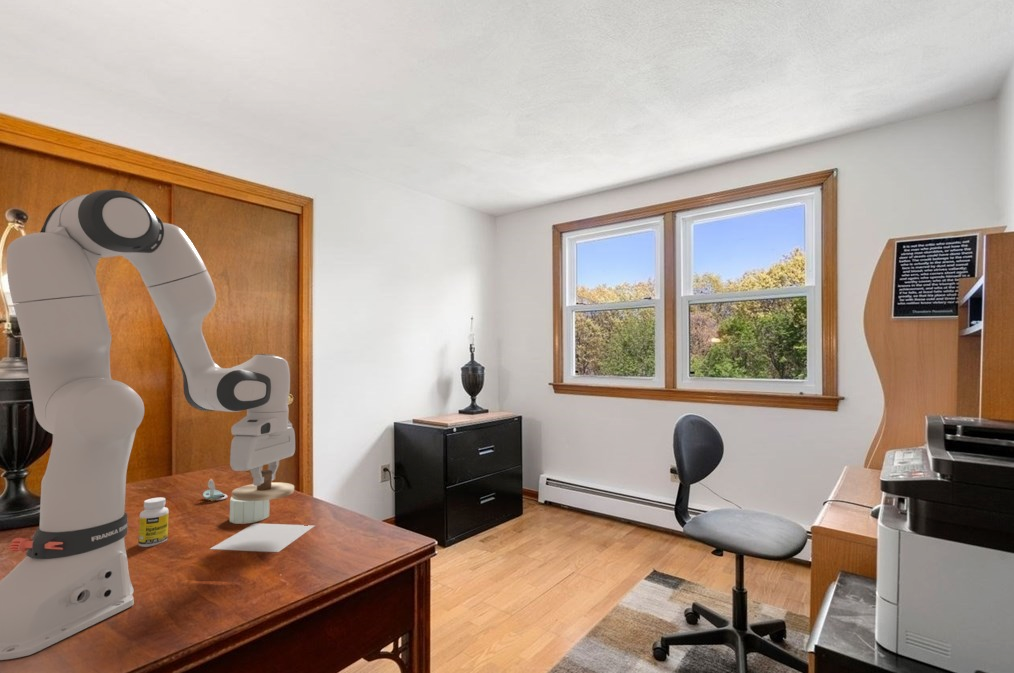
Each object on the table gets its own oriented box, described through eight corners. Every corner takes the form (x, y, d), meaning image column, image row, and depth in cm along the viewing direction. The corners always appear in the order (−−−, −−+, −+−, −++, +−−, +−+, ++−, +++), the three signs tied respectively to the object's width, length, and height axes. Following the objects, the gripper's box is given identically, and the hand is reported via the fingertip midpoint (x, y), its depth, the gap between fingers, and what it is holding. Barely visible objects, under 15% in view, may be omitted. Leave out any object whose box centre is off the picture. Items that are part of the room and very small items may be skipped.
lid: (274, 502, 104) (275, 479, 104) (218, 499, 105) (219, 476, 105) (304, 487, 117) (305, 467, 117) (254, 485, 118) (255, 465, 118)
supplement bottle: (142, 549, 105) (144, 504, 105) (134, 543, 108) (136, 500, 108) (171, 542, 109) (172, 499, 109) (163, 536, 112) (164, 494, 113)
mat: (278, 554, 102) (278, 551, 102) (209, 551, 104) (209, 548, 104) (315, 527, 118) (315, 525, 118) (254, 525, 120) (254, 523, 120)
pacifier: (223, 495, 147) (201, 498, 142) (225, 474, 147) (202, 477, 143) (230, 500, 141) (207, 504, 137) (231, 479, 142) (208, 482, 138)
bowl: (255, 526, 119) (255, 501, 120) (221, 524, 120) (222, 500, 120) (276, 514, 128) (276, 491, 129) (244, 513, 129) (245, 490, 129)
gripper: (279, 418, 123) (277, 472, 122) (226, 427, 102) (222, 493, 101) (303, 419, 122) (300, 473, 121) (253, 428, 102) (249, 494, 101)
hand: (264, 482), depth 111 cm, fingers closed on lid, 3 cm apart
